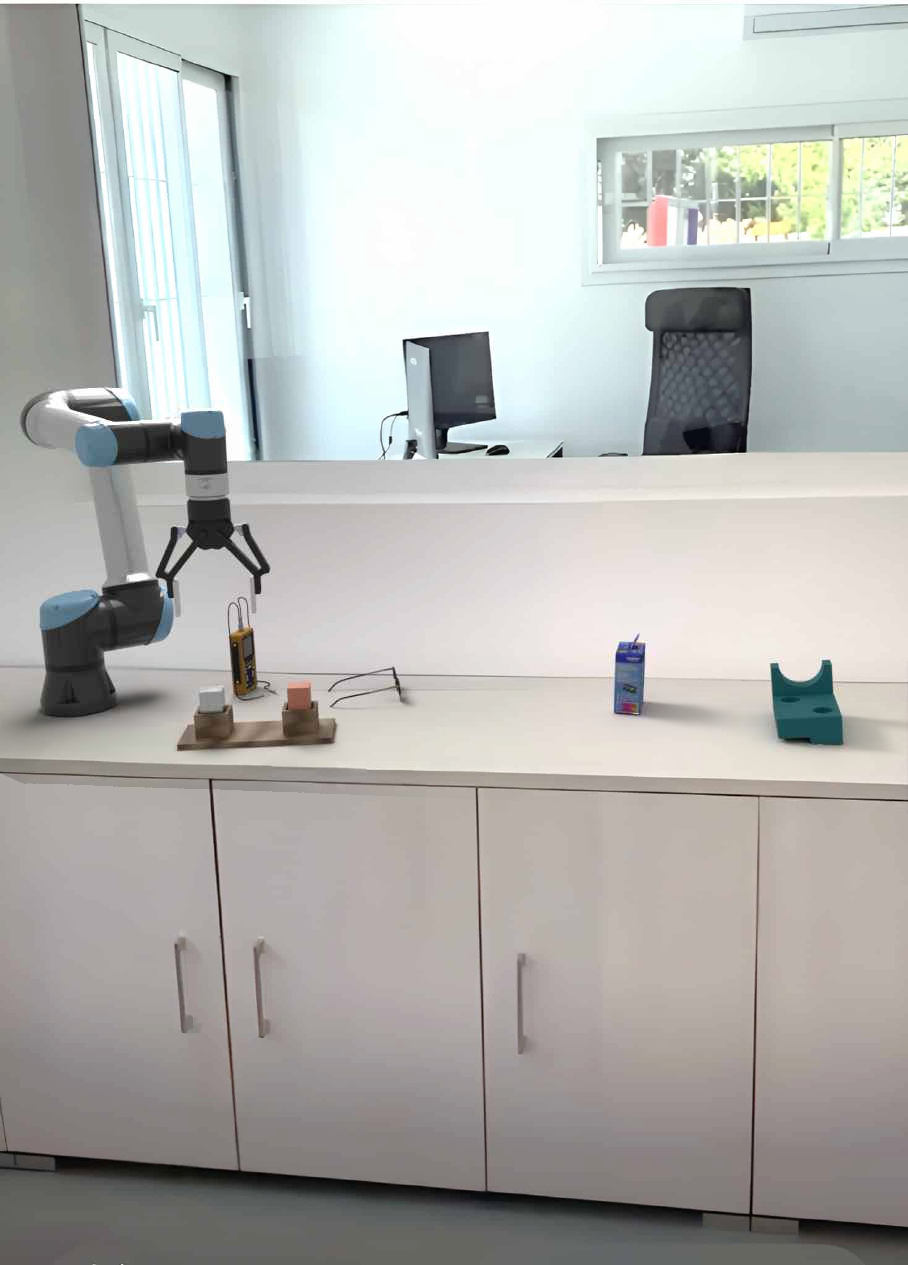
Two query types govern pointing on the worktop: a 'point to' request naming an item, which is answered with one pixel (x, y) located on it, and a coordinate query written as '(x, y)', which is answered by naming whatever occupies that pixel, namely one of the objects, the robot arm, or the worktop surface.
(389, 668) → the sunglasses
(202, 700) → the steel plug
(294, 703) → the salmon pink plug
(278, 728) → the socket panel
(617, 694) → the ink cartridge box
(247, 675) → the multimeter
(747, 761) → the worktop surface
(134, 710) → the worktop surface
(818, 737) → the teal l-shaped bracket
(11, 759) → the worktop surface
